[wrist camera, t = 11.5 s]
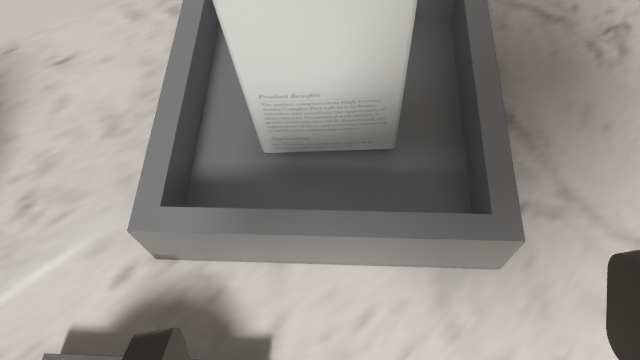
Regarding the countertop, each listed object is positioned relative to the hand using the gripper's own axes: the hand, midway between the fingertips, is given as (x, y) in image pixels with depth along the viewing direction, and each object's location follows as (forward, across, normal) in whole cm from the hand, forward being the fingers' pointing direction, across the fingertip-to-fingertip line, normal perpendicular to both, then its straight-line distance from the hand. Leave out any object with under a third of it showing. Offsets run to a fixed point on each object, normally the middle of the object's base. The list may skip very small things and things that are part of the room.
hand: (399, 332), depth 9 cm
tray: (+15, 0, -1) cm, 15 cm away
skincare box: (+15, 0, -2) cm, 15 cm away
